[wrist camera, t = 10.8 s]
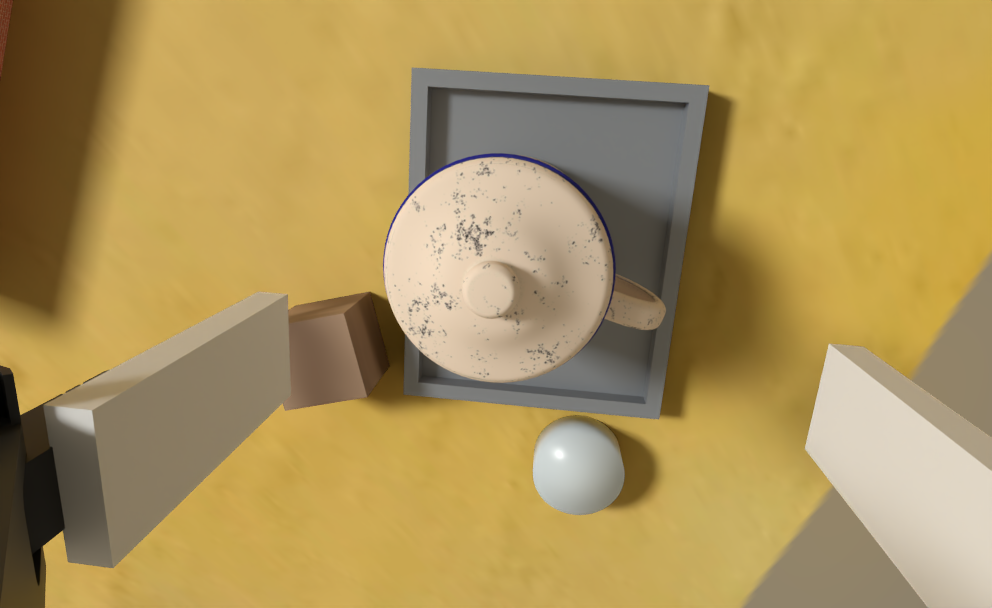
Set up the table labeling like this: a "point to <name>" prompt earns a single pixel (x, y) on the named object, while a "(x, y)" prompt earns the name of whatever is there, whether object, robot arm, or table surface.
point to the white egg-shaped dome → (578, 465)
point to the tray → (612, 187)
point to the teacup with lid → (506, 269)
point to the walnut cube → (334, 351)
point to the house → (4, 27)
